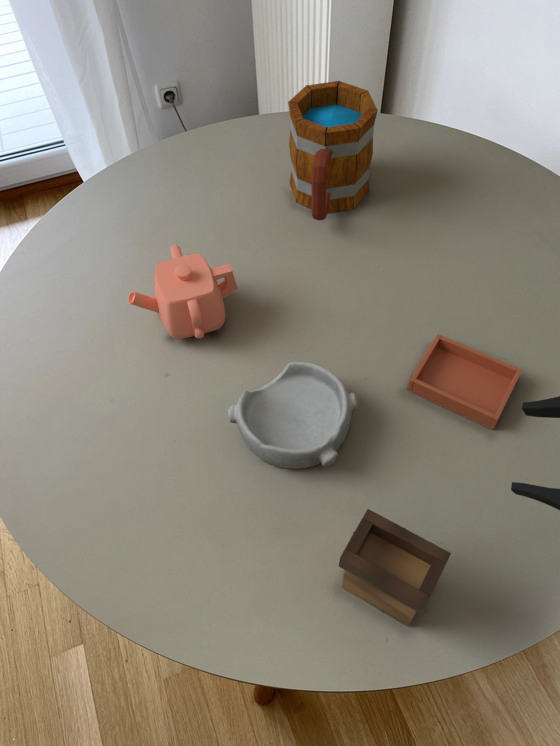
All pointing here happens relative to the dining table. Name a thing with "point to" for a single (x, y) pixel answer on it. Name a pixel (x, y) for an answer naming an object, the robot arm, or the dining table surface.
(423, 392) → the holder
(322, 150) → the mug
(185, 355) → the dining table surface
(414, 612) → the stand
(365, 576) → the frame
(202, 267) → the teapot
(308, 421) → the dish
